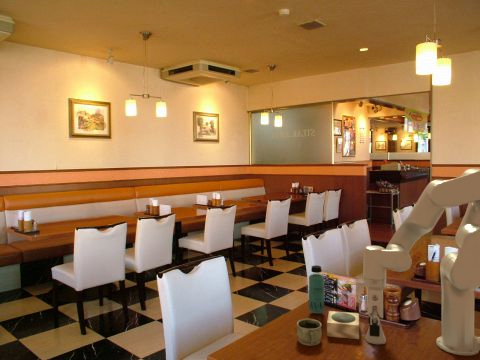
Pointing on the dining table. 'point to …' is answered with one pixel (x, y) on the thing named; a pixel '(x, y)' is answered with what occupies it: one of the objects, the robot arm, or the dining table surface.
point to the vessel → (309, 331)
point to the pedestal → (343, 325)
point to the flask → (376, 340)
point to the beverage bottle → (316, 290)
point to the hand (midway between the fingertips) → (373, 329)
